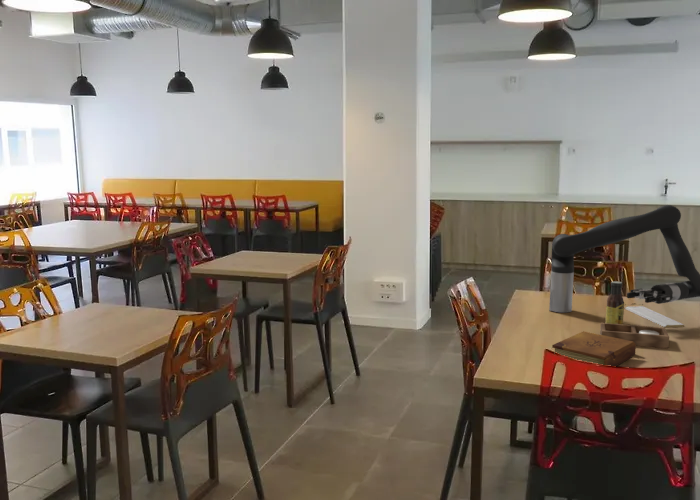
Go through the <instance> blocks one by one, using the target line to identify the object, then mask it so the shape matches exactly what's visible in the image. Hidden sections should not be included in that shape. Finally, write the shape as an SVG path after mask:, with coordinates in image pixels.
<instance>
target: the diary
mask: <svg viewBox="0 0 700 500" xmlns="http://www.w3.org/2000/svg"><path fill="white" fill-rule="evenodd" d="M551 348H553V349H554V353H555V352H557V353H559V354H561V355H565V356H568V357H571V358H574V359H577V360H582V361H587V362H593V363H598V364H603V365H611V366H616V367H617V365H618V366H620V365H621V364H623V363H625V362H626V361H629V360H630V359H632V358H633V357H634V356H635V355H636V349H637V346H636V344H635V343H634V342H633V341H628V340H623V339H618V338H614V337H609V336H604V335H600V333H599V334H598V333H593V332H588V331H584V330H583V331H581V332H579V333H577V334H574V335H572V336H569V337H567V338H566V339H563V340H561V341H558V342H556V343H554V344H552V347H551ZM624 361H625V362H624Z"/></svg>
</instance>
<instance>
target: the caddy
mask: <svg viewBox="0 0 700 500" xmlns="http://www.w3.org/2000/svg"><path fill="white" fill-rule="evenodd" d="M641 330H651V331H656V332H658V333H659V335H654V334H642V333H639V331H641ZM599 335H604V336H609V337H614V338H618V339H623V340H628V341H633V342H634V343H635V344H636V347H637V346H638V347H647V348H648V347H649V348H657V349H659V348H661V349H669V344H670V343H669V342H670V335H669V333H668V331H667V330H666V327H662V326H649V325H635V324H634V325H633V324H624V323H623V324H612V323H605V322H600V332H599Z"/></svg>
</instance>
